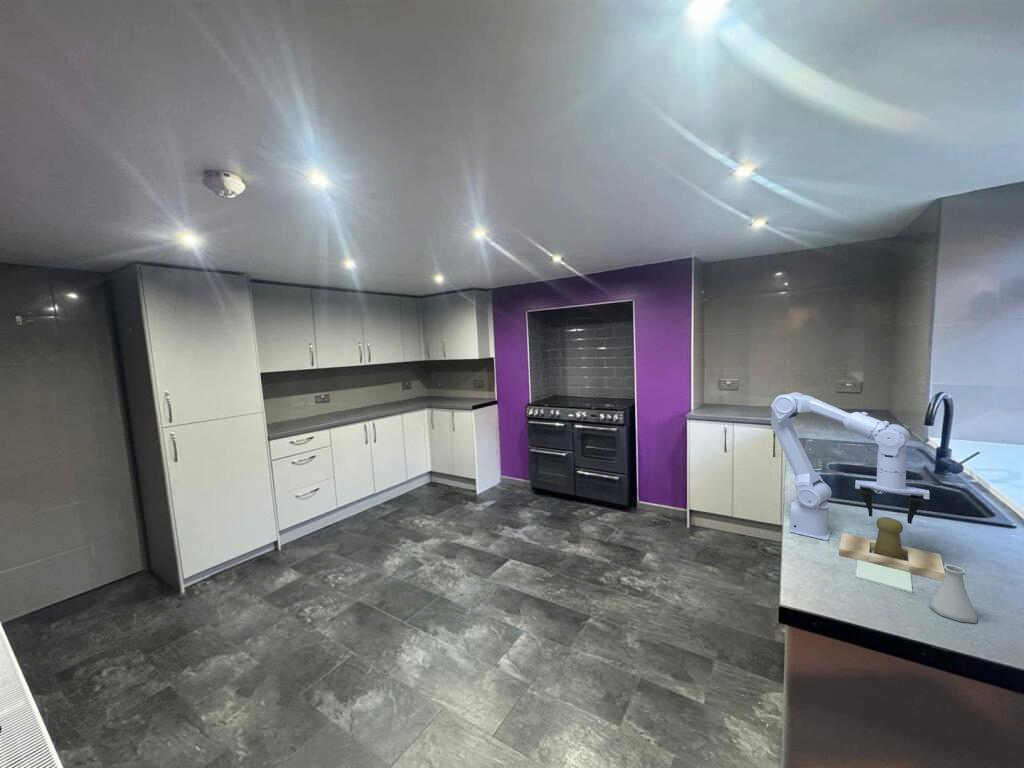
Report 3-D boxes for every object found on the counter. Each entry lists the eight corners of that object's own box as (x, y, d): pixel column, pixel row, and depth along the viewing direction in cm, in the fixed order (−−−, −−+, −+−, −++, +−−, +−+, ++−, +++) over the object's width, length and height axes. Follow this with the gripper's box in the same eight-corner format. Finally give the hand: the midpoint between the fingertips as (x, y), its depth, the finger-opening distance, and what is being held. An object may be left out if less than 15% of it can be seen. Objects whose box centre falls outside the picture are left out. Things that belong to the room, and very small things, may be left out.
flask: (985, 628, 81) (987, 581, 80) (935, 617, 85) (937, 572, 84) (969, 608, 87) (971, 564, 86) (923, 598, 91) (925, 556, 90)
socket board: (838, 555, 111) (839, 548, 110) (842, 539, 119) (842, 533, 119) (944, 581, 97) (945, 573, 97) (939, 561, 106) (940, 554, 106)
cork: (910, 565, 105) (911, 524, 104) (883, 563, 106) (884, 523, 105) (893, 553, 110) (894, 515, 110) (867, 552, 112) (869, 514, 111)
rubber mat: (855, 577, 100) (855, 576, 100) (857, 561, 107) (857, 559, 107) (912, 593, 93) (912, 591, 93) (910, 574, 100) (910, 572, 100)
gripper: (928, 470, 106) (926, 520, 107) (856, 462, 116) (855, 507, 117) (931, 477, 101) (928, 529, 102) (855, 468, 110) (854, 515, 111)
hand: (889, 518), depth 109 cm, fingers open, 7 cm apart
